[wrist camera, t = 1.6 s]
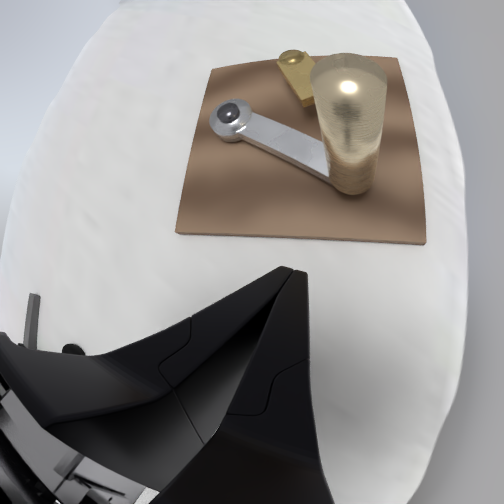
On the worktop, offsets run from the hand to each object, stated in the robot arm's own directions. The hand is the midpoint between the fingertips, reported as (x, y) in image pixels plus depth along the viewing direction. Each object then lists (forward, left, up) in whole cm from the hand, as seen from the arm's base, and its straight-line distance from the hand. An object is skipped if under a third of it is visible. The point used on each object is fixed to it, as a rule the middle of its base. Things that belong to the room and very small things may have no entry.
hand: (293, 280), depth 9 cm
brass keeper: (+18, +2, -13) cm, 22 cm away
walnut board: (+15, +3, -13) cm, 20 cm away
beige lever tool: (+12, +3, -12) cm, 18 cm away
